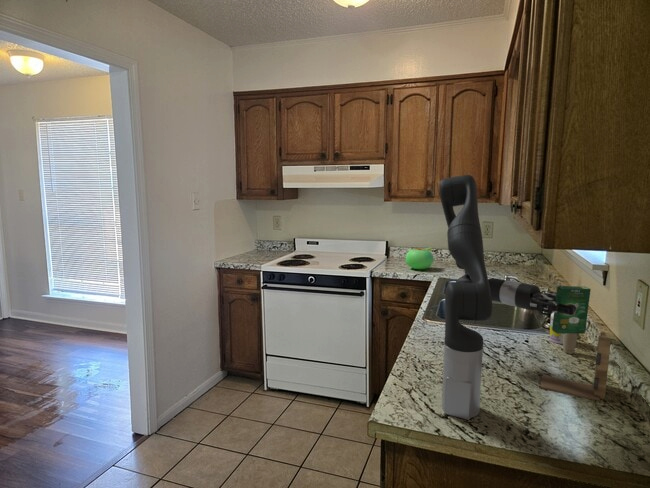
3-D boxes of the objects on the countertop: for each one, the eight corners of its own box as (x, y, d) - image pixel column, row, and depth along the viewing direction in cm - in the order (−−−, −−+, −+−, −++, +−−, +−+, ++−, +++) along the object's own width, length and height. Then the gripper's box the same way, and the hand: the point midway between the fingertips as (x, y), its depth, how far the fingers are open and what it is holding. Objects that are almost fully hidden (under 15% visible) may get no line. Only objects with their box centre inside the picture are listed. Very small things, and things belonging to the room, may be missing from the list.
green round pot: (403, 270, 269) (404, 248, 267) (407, 265, 285) (407, 244, 282) (432, 272, 263) (433, 249, 261) (434, 267, 279) (434, 245, 277)
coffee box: (580, 330, 116) (585, 285, 114) (586, 334, 113) (591, 288, 111) (551, 330, 116) (555, 285, 114) (556, 334, 114) (561, 288, 111)
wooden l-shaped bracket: (605, 402, 109) (611, 344, 107) (540, 388, 117) (544, 334, 114) (602, 383, 119) (607, 330, 117) (542, 371, 127) (546, 321, 124)
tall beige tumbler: (555, 349, 143) (559, 307, 141) (574, 349, 143) (578, 308, 140) (562, 355, 138) (566, 312, 136) (582, 355, 138) (586, 312, 136)
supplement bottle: (567, 338, 153) (569, 305, 151) (572, 345, 146) (575, 310, 145) (547, 336, 155) (549, 303, 153) (551, 343, 148) (554, 309, 146)
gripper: (508, 286, 119) (570, 299, 107) (531, 279, 128) (590, 290, 116) (506, 311, 121) (567, 327, 108) (529, 302, 130) (587, 315, 117)
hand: (579, 308), depth 112 cm, fingers closed on coffee box, 7 cm apart
